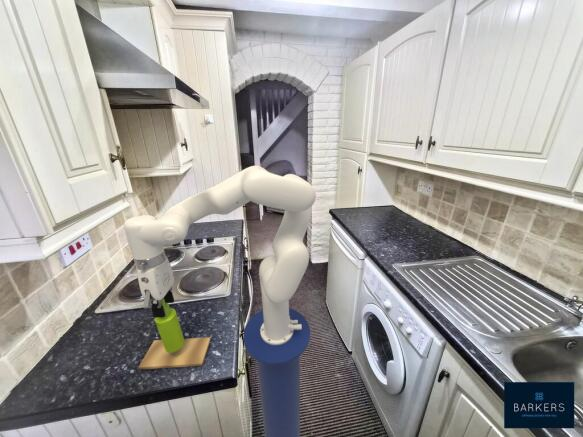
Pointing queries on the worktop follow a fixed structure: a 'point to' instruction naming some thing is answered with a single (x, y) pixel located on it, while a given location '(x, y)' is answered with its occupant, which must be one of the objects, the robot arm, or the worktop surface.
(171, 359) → the chopping board
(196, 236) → the worktop surface
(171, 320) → the soap dispenser
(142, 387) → the worktop surface
